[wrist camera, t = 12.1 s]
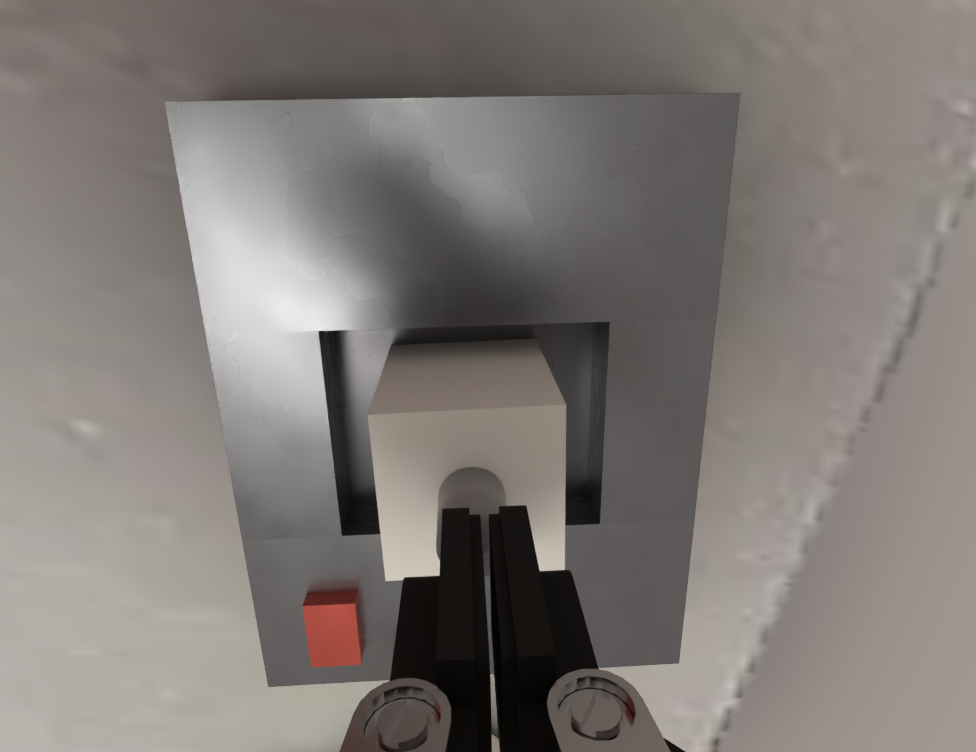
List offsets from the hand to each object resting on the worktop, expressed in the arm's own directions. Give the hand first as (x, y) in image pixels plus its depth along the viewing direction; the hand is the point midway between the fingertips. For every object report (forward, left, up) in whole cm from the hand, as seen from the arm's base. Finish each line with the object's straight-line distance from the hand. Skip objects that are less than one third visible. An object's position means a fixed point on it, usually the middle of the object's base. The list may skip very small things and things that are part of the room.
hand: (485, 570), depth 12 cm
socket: (0, 0, -9) cm, 9 cm away
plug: (0, 0, -8) cm, 8 cm away
